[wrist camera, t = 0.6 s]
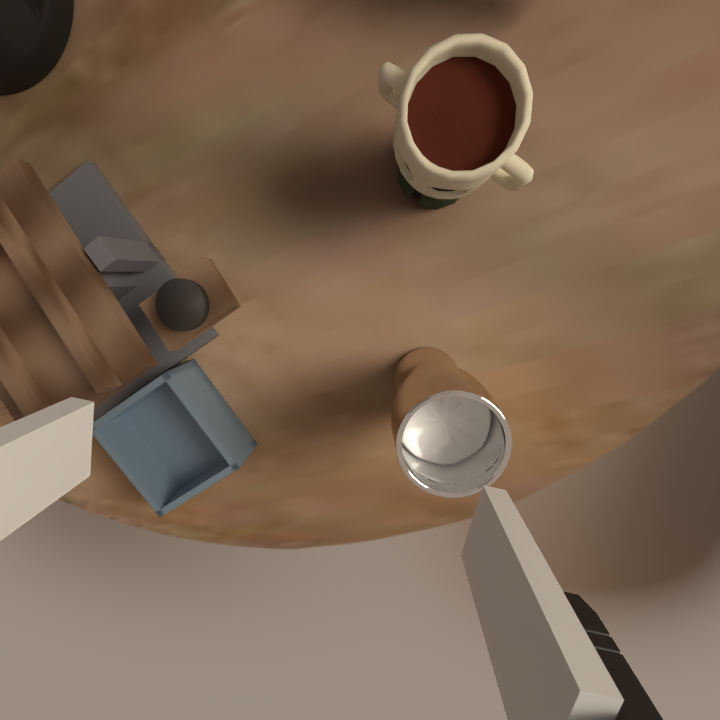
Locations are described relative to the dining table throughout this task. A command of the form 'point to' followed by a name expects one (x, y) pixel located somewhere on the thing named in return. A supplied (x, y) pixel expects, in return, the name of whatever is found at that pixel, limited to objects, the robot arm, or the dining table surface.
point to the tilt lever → (79, 307)
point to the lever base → (120, 264)
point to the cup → (174, 437)
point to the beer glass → (446, 426)
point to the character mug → (459, 118)
